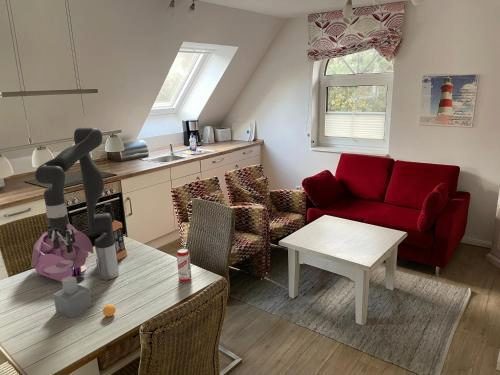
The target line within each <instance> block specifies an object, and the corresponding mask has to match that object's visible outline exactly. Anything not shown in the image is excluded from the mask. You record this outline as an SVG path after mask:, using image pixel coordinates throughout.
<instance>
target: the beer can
mask: <svg viewBox="0 0 500 375" xmlns="http://www.w3.org/2000/svg"><path fill="white" fill-rule="evenodd" d="M176 262H177V263H176V264H177V275H178V281H179V282H180V283H183V284H184V283H188V282H190V281H191V280H192V266H191V254H190V251H189V249H188V248H187V247H183V248H179V249H177V252H176Z"/></svg>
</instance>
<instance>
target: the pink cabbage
mask: <svg viewBox="0 0 500 375" xmlns="http://www.w3.org/2000/svg"><path fill="white" fill-rule="evenodd" d="M67 228H68V229H69V230H70V229H73V232H74V237H75V243H73V244H72V247H73V252H71V253H67V248H66V244H65V242H64V241H62V239H61V238H58V240H59V244H60V248H58V249H54V245H53V241H52V240H51V239H49V238H48V231H45V232H43V233H42V235H41V236H40V237H39V238H38V240H37V241H36V242H35V243H34V245H33V248H32V249H33V250H32V255H31V256H32V257H31V261H30V262H31V263H30V268H32V269H35V272H36V273H37V274H38V275H41V276H45V277H47V278H50V279H52V280H55V281H57V282H60V283H62V280H63V279H65V278H67V277H69V276H72V277H75V278H76V279H77V278H80V277H82V276H83V277H84V276H85V275H86V273H85V271H86V270H87V266H86V265H85V264H86V262H87V258H88V257H89V253H91V254H94V248H93V247H94V246H93V244H92V241H91V240H90V238H89V236H87V235H86V233H84V232H82V231H80V230H77V229H76V228H75V227H74V226H73V224H71V223H68V225H67ZM51 235H52V233H51ZM66 237H67V236H66ZM66 237H64V238H66ZM71 239H72V238H71ZM67 242H68V239H67Z"/></svg>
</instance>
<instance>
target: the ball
mask: <svg viewBox="0 0 500 375" xmlns="http://www.w3.org/2000/svg"><path fill="white" fill-rule="evenodd" d="M116 310H117V309H116V306H115V305H113V304H112V303H111V304H110V303H108V304H106V305H105V306H104V307H103V309H102V312H103V316H106V318H107V317H112V316H114V315H115V312H116Z"/></svg>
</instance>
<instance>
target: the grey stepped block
mask: <svg viewBox="0 0 500 375" xmlns="http://www.w3.org/2000/svg"><path fill="white" fill-rule="evenodd" d="M61 283H62V289H60V290H58V291H57V292H54V293H52V296H53V302H54V308H55V312H56V313H58V314H60V315H62V316H64V317H67V318H69V319H73V318H75V317H76V316H78V315H80V314H81V313H83V312H85V311H86V310H88V309H90V308H91V307H92V300H91V293H90V288H88V287H86V286H84V285H83V286H82V285H80V284H78V282H77V278H75V277H72V276H69V277H67V278H65V279H63V280H62V282H61Z"/></svg>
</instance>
